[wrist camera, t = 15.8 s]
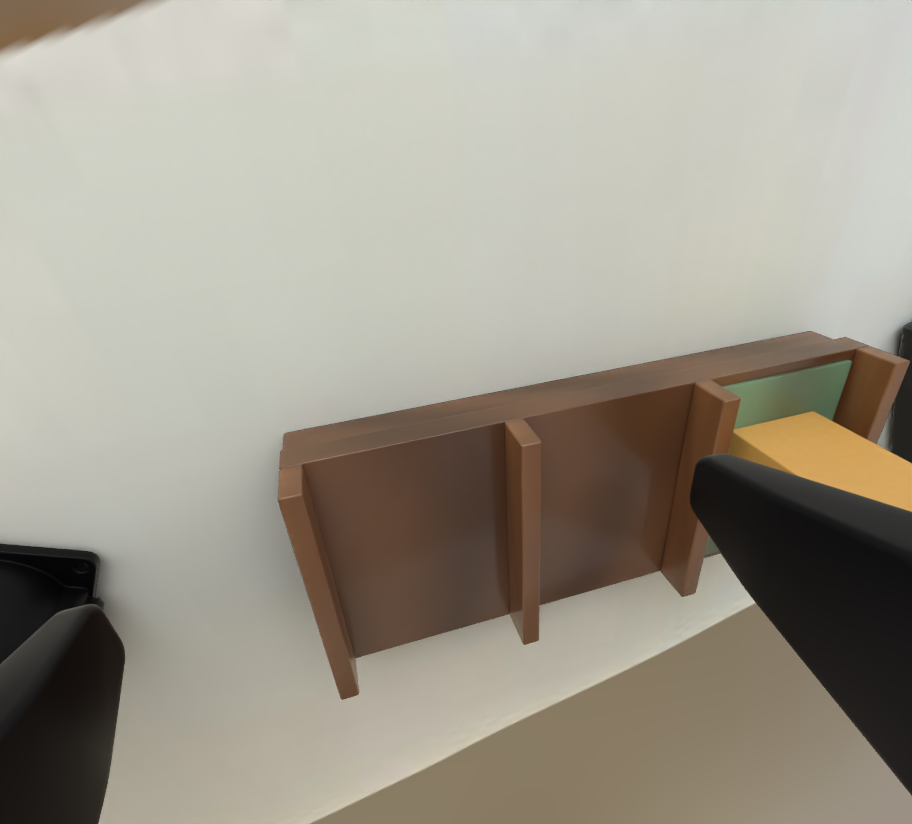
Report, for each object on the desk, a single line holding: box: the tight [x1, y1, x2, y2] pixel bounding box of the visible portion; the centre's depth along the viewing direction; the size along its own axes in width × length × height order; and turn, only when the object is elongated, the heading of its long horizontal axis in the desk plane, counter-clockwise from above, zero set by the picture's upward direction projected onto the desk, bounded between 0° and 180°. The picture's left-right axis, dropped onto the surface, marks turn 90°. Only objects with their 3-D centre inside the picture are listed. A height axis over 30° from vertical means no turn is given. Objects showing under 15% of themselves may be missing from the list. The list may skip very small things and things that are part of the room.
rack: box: [278, 331, 910, 700], centre depth 23 cm, size 26×11×5 cm, turn 95°
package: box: [728, 411, 912, 512], centre depth 19 cm, size 4×6×13 cm
